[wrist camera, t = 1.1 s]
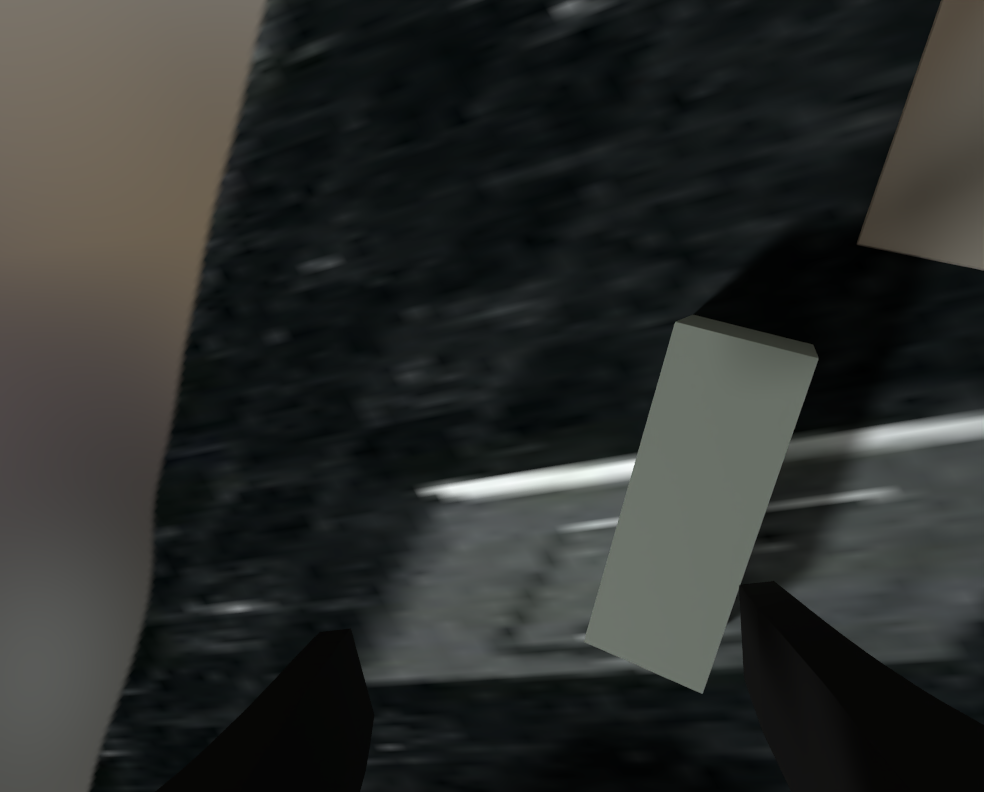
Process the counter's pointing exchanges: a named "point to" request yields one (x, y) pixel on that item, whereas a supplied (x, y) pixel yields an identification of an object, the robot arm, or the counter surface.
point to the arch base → (938, 150)
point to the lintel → (698, 495)
